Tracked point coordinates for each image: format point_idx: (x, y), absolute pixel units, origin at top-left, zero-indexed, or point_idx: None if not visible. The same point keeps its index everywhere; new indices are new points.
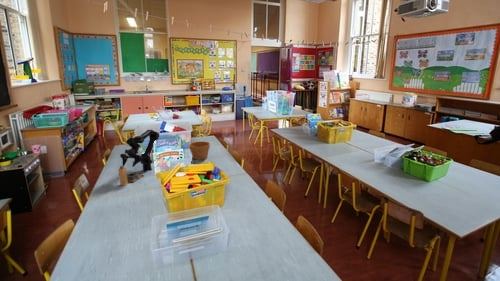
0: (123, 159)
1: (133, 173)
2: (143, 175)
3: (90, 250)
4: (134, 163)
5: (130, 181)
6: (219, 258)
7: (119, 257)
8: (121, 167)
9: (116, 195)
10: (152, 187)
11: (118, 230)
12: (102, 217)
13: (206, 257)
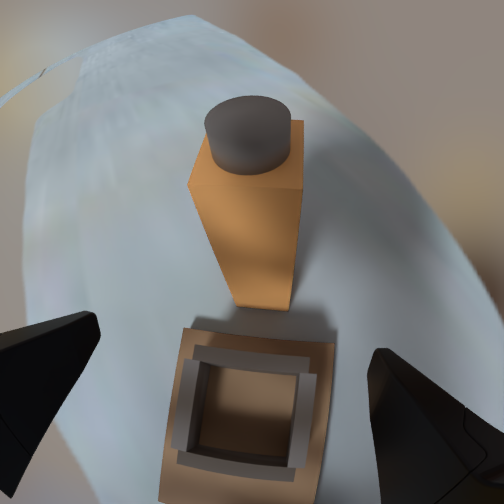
0: (499, 466)
1: (238, 464)
2: (161, 494)
3: (167, 29)
4: (19, 336)
5: (221, 334)
6: (16, 91)
7: (119, 40)
8: (234, 102)
9: None
10: (40, 255)
11: (133, 53)
12: (192, 55)
13: (25, 86)
